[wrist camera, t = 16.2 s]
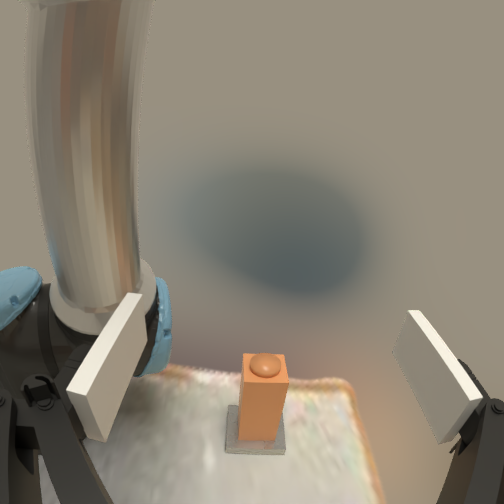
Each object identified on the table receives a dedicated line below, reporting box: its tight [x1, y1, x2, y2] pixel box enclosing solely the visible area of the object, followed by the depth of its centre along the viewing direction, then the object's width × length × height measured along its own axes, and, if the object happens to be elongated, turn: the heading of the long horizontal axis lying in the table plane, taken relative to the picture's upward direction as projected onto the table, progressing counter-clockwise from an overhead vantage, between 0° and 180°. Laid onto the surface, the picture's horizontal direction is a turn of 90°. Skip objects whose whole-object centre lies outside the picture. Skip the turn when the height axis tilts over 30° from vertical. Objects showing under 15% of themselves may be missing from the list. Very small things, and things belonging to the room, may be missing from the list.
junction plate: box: [225, 405, 286, 455], centre depth 39 cm, size 8×8×7 cm
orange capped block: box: [238, 353, 289, 441], centre depth 37 cm, size 5×5×13 cm
